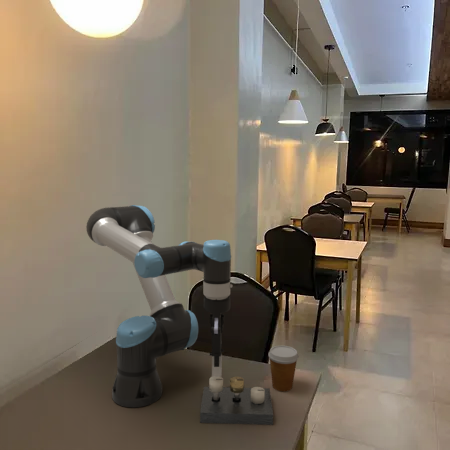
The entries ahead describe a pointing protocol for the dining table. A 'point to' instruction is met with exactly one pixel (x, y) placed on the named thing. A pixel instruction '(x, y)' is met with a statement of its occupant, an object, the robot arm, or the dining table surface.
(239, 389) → the brass pot knob
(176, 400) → the dining table surface
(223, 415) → the mount panel
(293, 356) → the disposable coffee cup
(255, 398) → the knob
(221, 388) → the knob
